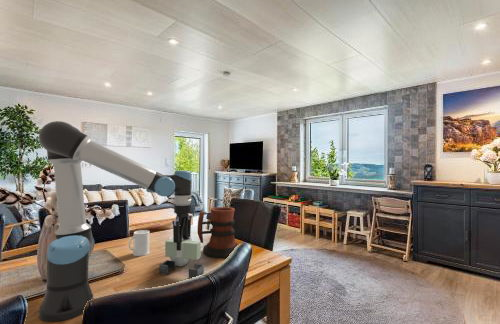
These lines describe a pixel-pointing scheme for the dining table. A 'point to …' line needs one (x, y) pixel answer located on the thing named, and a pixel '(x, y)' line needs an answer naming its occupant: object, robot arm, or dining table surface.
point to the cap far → (166, 267)
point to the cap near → (196, 271)
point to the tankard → (218, 232)
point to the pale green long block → (189, 249)
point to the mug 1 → (140, 243)
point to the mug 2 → (180, 260)
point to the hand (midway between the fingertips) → (182, 255)
